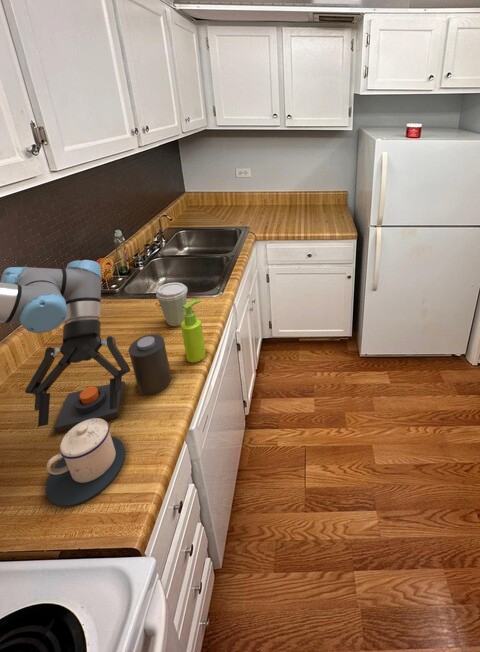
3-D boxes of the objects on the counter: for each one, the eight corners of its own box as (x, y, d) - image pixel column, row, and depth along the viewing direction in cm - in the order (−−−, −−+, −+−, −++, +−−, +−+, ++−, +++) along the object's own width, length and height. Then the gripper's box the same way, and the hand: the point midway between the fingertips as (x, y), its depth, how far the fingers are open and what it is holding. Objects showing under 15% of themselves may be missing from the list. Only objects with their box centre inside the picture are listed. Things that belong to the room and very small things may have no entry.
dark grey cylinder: (136, 398, 93) (124, 356, 87) (141, 370, 102) (131, 330, 97) (170, 390, 96) (162, 348, 90) (172, 363, 105) (165, 324, 100)
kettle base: (55, 433, 83) (51, 422, 82) (70, 398, 93) (66, 388, 91) (118, 417, 87) (115, 406, 86) (126, 385, 97) (123, 375, 96)
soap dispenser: (211, 352, 110) (204, 301, 103) (194, 365, 105) (185, 312, 97) (200, 345, 113) (192, 295, 106) (182, 357, 108) (173, 305, 100)
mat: (34, 518, 66) (33, 516, 66) (60, 449, 79) (59, 447, 79) (118, 491, 71) (117, 490, 71) (130, 430, 84) (129, 428, 84)
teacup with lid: (113, 436, 82) (102, 402, 77) (120, 466, 75) (109, 430, 71) (53, 468, 75) (37, 431, 70) (55, 504, 68) (37, 466, 64)
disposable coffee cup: (178, 310, 132) (172, 277, 126) (198, 317, 127) (193, 283, 122) (155, 325, 123) (148, 290, 117) (176, 333, 119) (170, 298, 113)
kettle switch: (79, 406, 86) (77, 400, 86) (83, 394, 90) (81, 388, 89) (97, 402, 88) (95, 396, 87) (100, 390, 91) (98, 384, 90)
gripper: (141, 315, 89) (144, 401, 81) (29, 334, 81) (21, 431, 74) (134, 309, 82) (136, 402, 75) (12, 330, 75) (0, 435, 67)
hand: (79, 417), depth 74 cm, fingers open, 13 cm apart
